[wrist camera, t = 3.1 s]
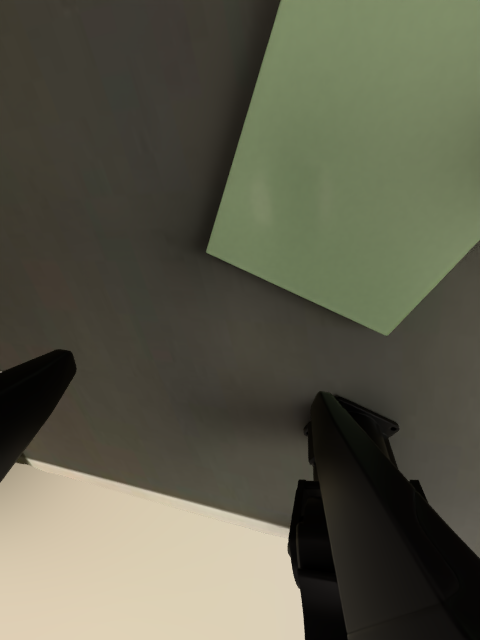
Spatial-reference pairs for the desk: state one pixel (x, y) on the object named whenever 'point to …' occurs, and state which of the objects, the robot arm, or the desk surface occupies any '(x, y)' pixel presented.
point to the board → (359, 155)
